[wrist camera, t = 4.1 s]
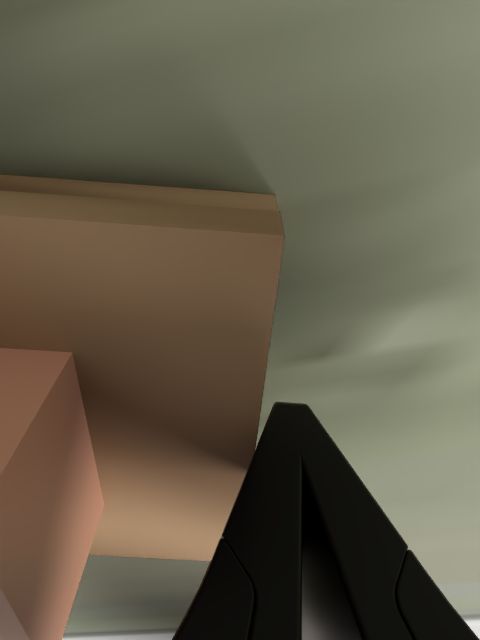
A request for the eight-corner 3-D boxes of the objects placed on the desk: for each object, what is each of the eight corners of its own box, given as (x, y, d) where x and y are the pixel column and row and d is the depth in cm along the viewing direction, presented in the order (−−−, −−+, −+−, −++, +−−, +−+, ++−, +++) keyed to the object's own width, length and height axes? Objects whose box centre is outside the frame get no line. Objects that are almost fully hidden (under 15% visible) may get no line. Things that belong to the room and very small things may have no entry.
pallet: (240, 486, 12) (239, 562, 10) (-58, 469, 12) (-113, 543, 10) (275, 189, 7) (284, 235, 5) (-234, 151, 7) (-399, 186, 5)
